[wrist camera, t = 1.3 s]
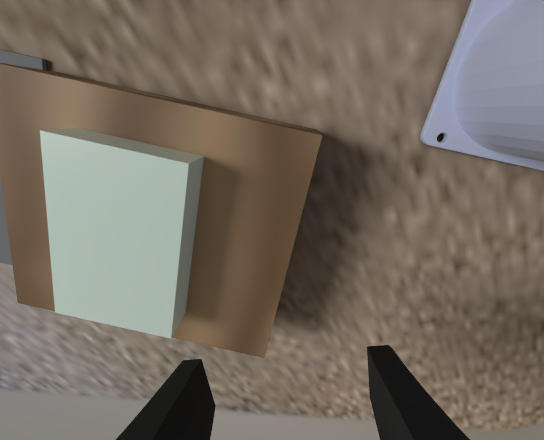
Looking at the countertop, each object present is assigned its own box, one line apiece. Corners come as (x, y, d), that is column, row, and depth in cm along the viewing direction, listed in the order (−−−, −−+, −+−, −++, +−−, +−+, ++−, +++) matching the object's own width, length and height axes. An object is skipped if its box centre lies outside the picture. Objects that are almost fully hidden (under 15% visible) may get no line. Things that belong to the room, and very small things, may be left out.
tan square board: (316, 129, 16) (322, 135, 13) (270, 313, 21) (264, 357, 17) (55, 71, 16) (-16, 60, 13) (67, 268, 21) (17, 302, 17)
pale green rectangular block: (203, 156, 13) (188, 163, 11) (185, 312, 16) (171, 338, 15) (76, 127, 13) (39, 130, 11) (82, 289, 16) (55, 312, 15)
